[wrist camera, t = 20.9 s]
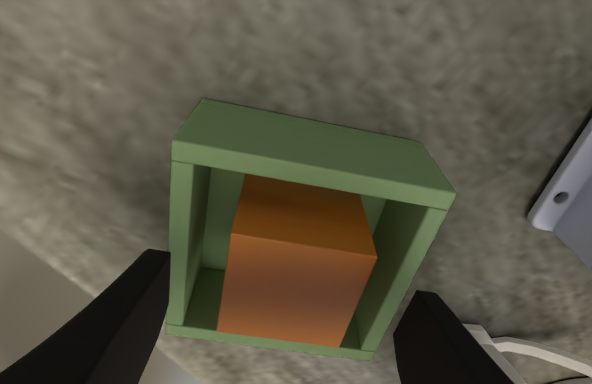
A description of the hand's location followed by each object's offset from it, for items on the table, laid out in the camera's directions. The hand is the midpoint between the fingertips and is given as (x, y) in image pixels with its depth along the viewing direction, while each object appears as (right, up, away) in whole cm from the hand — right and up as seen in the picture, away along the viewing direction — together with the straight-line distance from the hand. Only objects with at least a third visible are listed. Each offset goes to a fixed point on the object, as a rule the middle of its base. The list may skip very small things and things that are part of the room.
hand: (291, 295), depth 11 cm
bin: (0, +2, +4) cm, 4 cm away
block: (0, +2, +3) cm, 4 cm away
